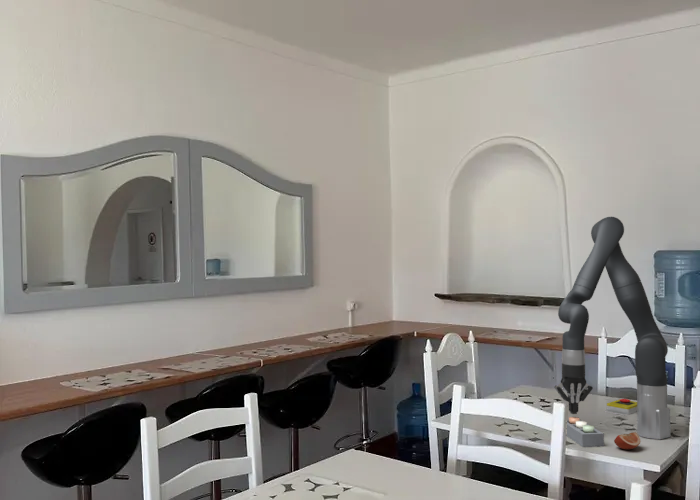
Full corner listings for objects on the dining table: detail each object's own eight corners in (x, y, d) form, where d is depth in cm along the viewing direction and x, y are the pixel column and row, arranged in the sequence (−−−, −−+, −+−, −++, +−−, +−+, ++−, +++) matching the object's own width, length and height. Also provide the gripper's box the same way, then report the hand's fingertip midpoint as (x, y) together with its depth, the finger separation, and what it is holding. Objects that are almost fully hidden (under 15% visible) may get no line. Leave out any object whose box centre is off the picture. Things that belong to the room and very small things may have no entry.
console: (560, 431, 230) (560, 420, 230) (580, 431, 230) (580, 419, 230) (582, 446, 212) (582, 434, 212) (603, 446, 213) (603, 433, 213)
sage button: (581, 431, 217) (581, 425, 217) (591, 431, 218) (591, 424, 218) (585, 434, 214) (585, 428, 214) (596, 434, 214) (595, 427, 214)
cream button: (574, 427, 223) (574, 420, 223) (584, 426, 223) (583, 420, 223) (578, 430, 219) (578, 423, 219) (588, 429, 220) (588, 423, 220)
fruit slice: (627, 444, 214) (627, 429, 214) (646, 450, 209) (645, 433, 209) (609, 448, 210) (609, 432, 210) (627, 454, 204) (627, 437, 204)
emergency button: (644, 399, 261) (625, 405, 251) (644, 410, 261) (625, 417, 251) (621, 395, 268) (602, 401, 258) (621, 406, 268) (602, 412, 258)
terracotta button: (567, 423, 228) (567, 416, 228) (577, 422, 229) (577, 416, 229) (571, 425, 225) (571, 419, 225) (581, 425, 225) (581, 419, 225)
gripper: (558, 364, 223) (558, 416, 223) (597, 363, 224) (597, 415, 224) (550, 360, 230) (550, 411, 230) (587, 360, 231) (587, 410, 231)
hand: (573, 413), depth 227 cm, fingers closed
